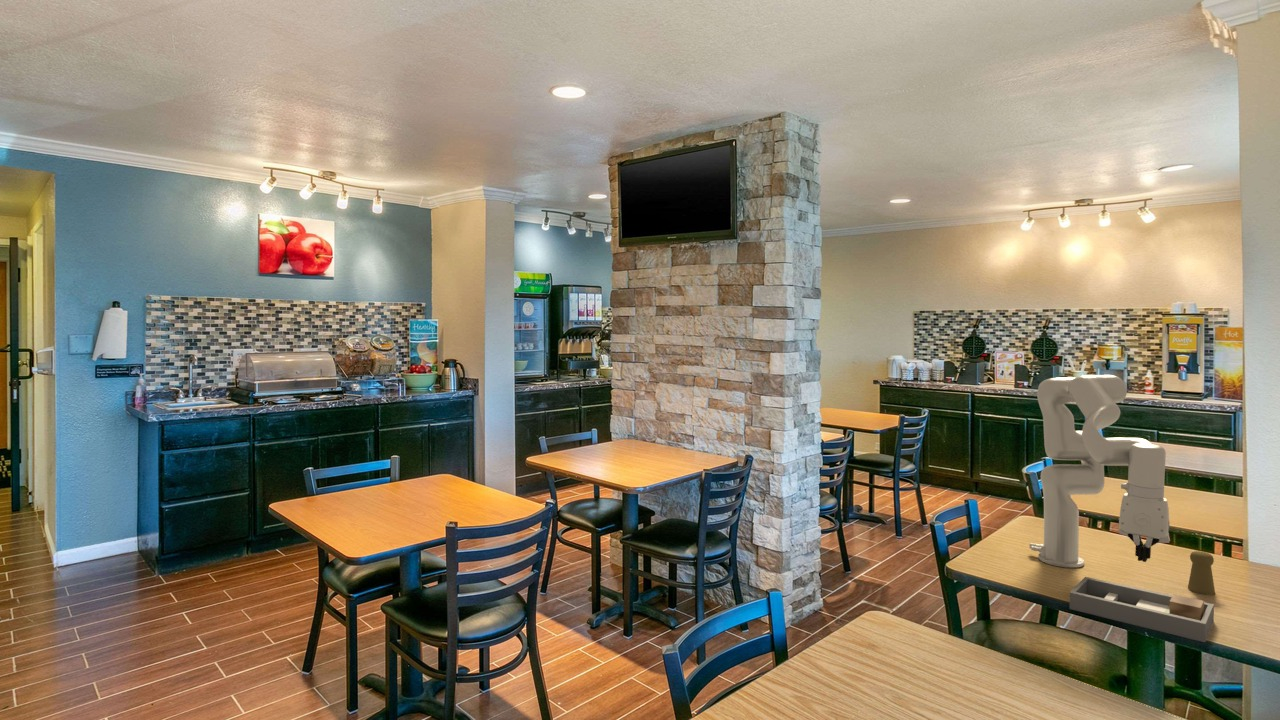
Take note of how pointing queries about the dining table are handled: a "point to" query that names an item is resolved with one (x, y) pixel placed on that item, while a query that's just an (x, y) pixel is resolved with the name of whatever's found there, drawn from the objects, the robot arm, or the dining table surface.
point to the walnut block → (1186, 607)
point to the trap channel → (1138, 608)
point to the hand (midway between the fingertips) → (1142, 559)
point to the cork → (1201, 573)
